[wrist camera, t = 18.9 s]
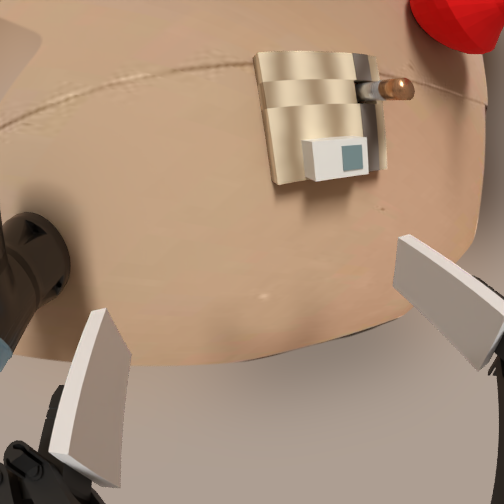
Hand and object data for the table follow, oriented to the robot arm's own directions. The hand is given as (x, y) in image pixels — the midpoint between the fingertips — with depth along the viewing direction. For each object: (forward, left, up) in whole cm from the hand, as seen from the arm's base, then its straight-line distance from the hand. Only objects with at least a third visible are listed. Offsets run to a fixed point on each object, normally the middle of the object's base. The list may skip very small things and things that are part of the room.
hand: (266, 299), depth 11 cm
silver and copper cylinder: (+23, +10, -29) cm, 38 cm away
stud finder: (+16, +1, -26) cm, 30 cm away
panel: (+17, +7, -29) cm, 34 cm away
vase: (+45, +29, -29) cm, 61 cm away
